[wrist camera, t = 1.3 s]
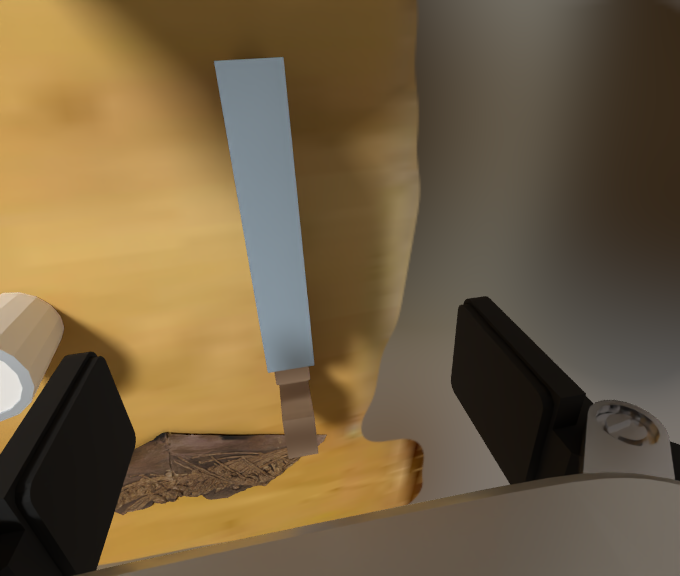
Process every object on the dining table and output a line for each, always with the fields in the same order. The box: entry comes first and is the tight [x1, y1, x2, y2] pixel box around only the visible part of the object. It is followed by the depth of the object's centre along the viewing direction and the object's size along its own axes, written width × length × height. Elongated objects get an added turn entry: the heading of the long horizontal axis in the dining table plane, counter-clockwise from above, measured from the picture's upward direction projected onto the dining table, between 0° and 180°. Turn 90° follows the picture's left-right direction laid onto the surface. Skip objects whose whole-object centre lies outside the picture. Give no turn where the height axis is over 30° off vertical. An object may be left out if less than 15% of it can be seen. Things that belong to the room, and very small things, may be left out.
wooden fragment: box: [115, 433, 326, 515], centre depth 43 cm, size 26×11×1 cm, turn 90°
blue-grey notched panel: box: [214, 57, 314, 373], centre depth 24 cm, size 14×2×14 cm, turn 3°
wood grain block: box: [275, 366, 318, 459], centre depth 34 cm, size 12×2×8 cm, turn 3°
